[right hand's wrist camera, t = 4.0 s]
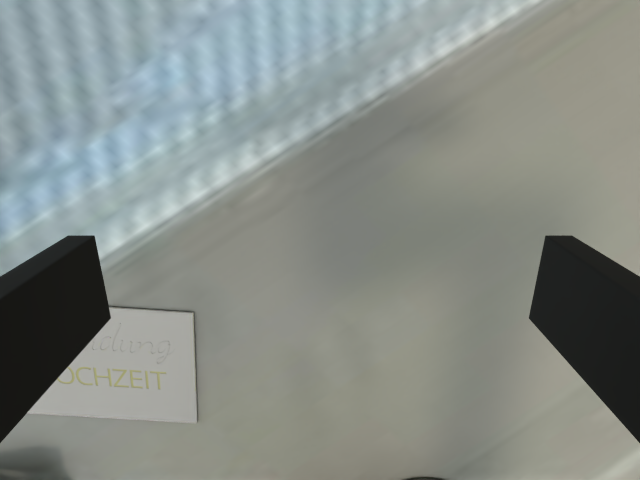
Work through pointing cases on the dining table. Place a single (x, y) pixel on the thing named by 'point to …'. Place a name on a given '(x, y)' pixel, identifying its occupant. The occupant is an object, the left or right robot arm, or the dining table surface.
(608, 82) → the dining table surface
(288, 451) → the dining table surface
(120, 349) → the invitation card
